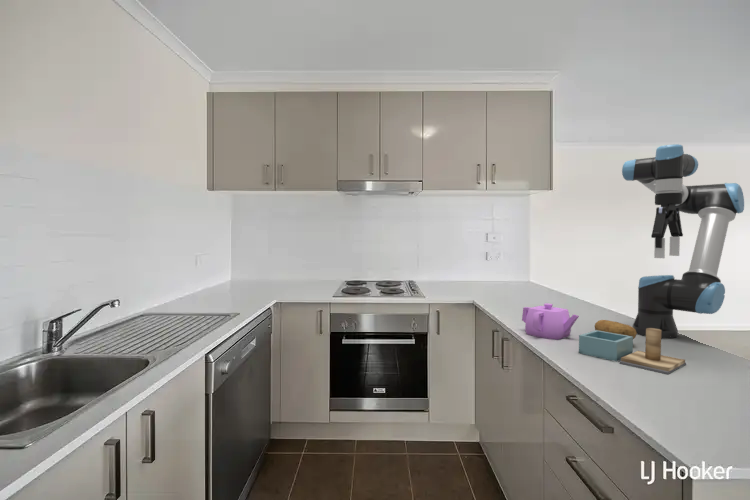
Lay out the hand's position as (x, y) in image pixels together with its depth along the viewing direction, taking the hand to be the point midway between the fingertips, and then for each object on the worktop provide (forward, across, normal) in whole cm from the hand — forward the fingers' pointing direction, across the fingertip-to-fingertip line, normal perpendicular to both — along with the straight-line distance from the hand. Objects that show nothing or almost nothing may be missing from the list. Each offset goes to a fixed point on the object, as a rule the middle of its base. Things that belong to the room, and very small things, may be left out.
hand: (667, 257), depth 146 cm
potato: (+32, +2, -15) cm, 36 cm away
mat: (+32, +18, +3) cm, 37 cm away
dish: (+32, +18, -11) cm, 38 cm away
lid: (+31, +18, +3) cm, 36 cm away
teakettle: (+32, +8, -37) cm, 50 cm away
